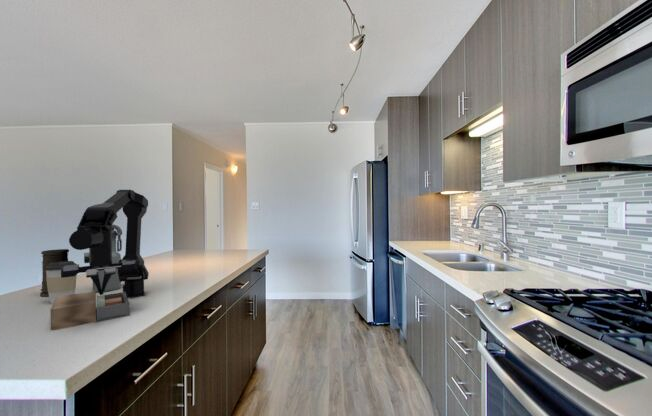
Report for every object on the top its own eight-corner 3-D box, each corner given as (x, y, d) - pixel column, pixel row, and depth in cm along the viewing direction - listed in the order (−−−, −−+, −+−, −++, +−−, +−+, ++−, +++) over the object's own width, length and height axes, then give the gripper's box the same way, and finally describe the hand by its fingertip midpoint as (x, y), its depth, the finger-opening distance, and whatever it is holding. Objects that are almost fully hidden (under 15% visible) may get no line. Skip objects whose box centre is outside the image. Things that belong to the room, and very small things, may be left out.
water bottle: (124, 285, 132) (123, 223, 132) (119, 290, 123) (118, 224, 123) (96, 288, 127) (95, 224, 127) (89, 293, 119) (88, 225, 119)
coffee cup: (59, 298, 114) (58, 259, 114) (84, 297, 114) (83, 259, 114) (38, 305, 105) (37, 264, 105) (65, 304, 105) (64, 263, 105)
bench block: (95, 308, 101) (95, 290, 101) (95, 321, 88) (95, 302, 88) (56, 315, 95) (56, 296, 95) (50, 330, 82) (50, 309, 82)
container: (35, 296, 117) (34, 251, 117) (62, 290, 125) (62, 248, 125) (48, 298, 113) (47, 252, 114) (75, 291, 122) (74, 249, 122)
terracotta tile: (103, 300, 101) (103, 305, 101) (103, 303, 97) (103, 309, 97) (121, 297, 104) (121, 302, 104) (121, 300, 100) (122, 306, 100)
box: (125, 302, 106) (125, 291, 106) (129, 315, 93) (129, 303, 93) (97, 307, 101) (96, 296, 101) (97, 322, 88) (96, 308, 88)
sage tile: (97, 312, 94) (104, 310, 96) (96, 316, 90) (104, 314, 92) (96, 296, 94) (104, 295, 96) (96, 300, 90) (104, 299, 92)
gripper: (133, 241, 105) (133, 284, 105) (63, 246, 93) (64, 294, 93) (136, 244, 96) (137, 291, 96) (60, 249, 84) (61, 303, 84)
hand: (101, 294), depth 93 cm, fingers closed
